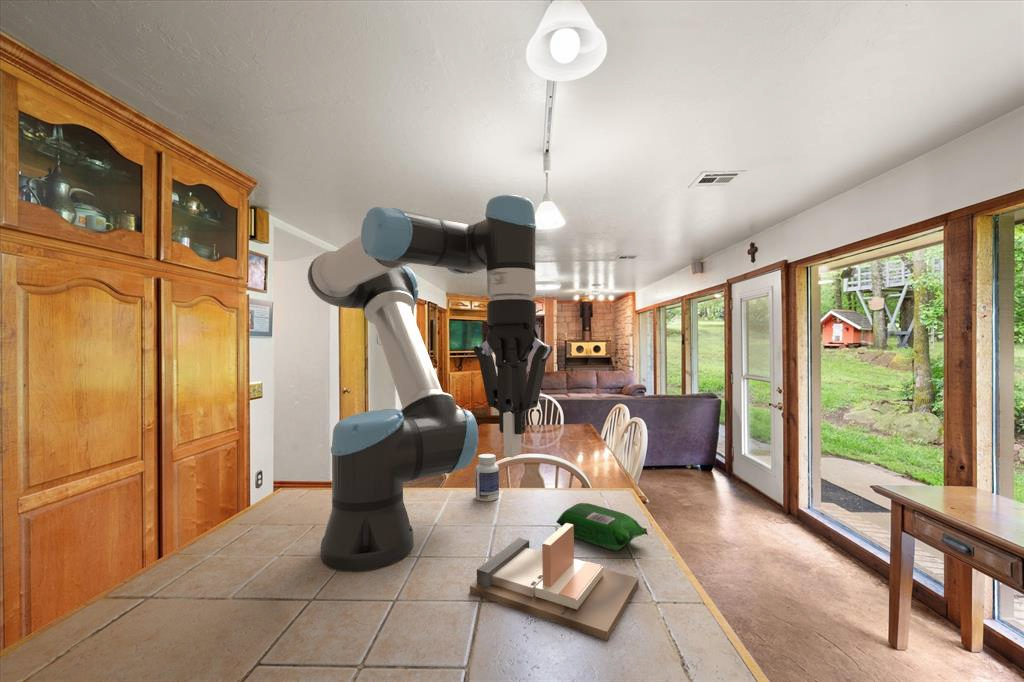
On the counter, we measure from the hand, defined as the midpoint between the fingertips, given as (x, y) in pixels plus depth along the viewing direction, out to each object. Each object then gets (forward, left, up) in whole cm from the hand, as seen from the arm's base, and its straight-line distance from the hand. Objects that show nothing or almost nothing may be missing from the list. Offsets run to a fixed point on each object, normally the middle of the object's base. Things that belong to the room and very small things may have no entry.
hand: (512, 454), depth 67 cm
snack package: (+7, +19, -19) cm, 27 cm away
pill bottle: (-23, +27, -19) cm, 40 cm away
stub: (+9, 0, -17) cm, 19 cm away
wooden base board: (+7, 0, -18) cm, 20 cm away
